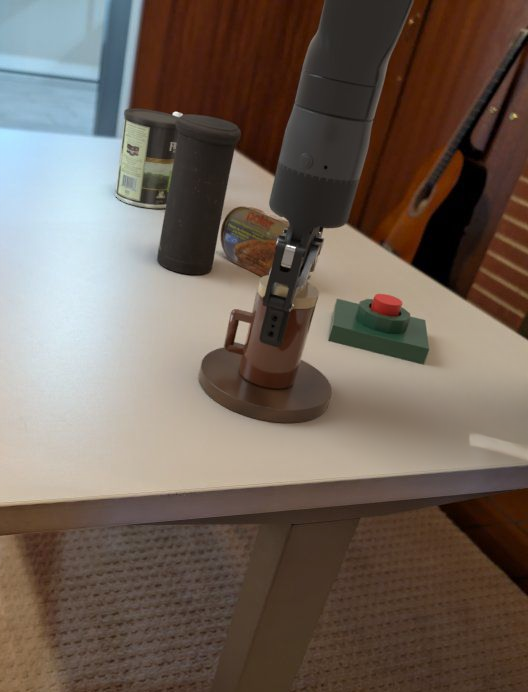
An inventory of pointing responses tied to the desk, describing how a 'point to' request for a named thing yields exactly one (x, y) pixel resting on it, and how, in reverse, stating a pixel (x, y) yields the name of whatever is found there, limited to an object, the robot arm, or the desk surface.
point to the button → (386, 305)
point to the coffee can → (146, 158)
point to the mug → (266, 360)
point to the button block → (379, 331)
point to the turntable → (264, 390)
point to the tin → (251, 238)
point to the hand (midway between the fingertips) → (278, 328)
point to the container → (196, 193)
